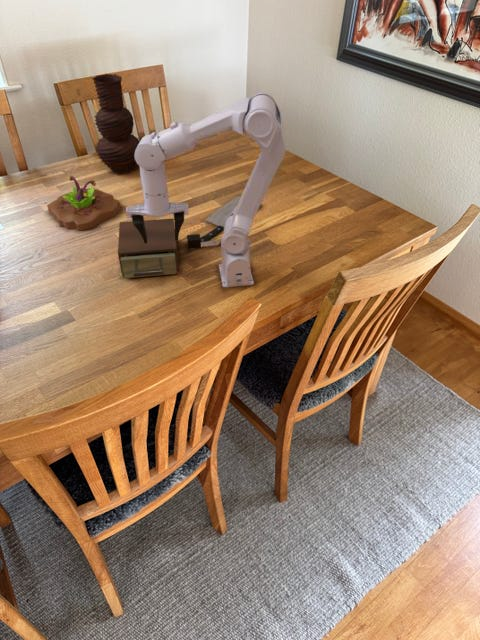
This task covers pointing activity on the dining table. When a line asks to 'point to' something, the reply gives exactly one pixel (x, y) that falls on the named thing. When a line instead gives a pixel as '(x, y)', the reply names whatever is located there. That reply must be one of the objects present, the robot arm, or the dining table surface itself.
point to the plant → (83, 207)
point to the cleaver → (220, 218)
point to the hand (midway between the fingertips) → (161, 239)
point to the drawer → (148, 264)
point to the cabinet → (157, 239)
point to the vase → (114, 126)
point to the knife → (199, 242)
